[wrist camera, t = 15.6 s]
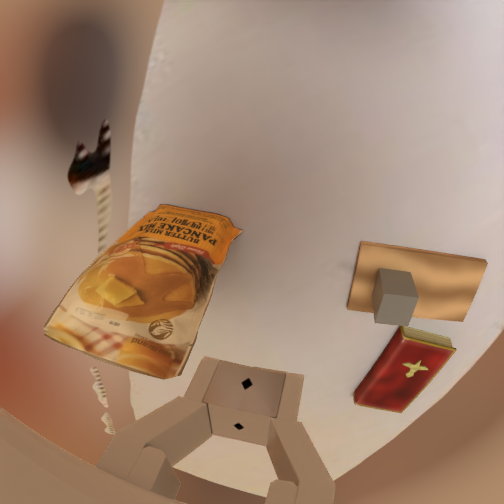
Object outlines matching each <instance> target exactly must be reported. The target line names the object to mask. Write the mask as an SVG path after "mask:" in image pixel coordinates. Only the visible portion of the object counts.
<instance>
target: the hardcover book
mask: <svg viewBox="0 0 504 504" xmlns="http://www.w3.org/2000/svg"><path fill="white" fill-rule="evenodd" d="M455 351H456V348H453V347H452V343H451V340H450V338H448V337H444V336H440V335H437V334H433V333H429V332H425V331H421V330H418V329H414V328H410V327H406V326H400V327H399V328H398V330H397V331H396V333H395V335H394V336H393V338H392V339H391V341H390V342H389V344H388V345H387V347H386V348H385V350H384V351H383V353H382V354H381V356H380V357H379V359H378V360H377V361H376V363H375V364H374V366H373V367H372V369H371V370H370V371H369V373H368V374H367V375H366V377H365V378H364V380H363V381H362V382H361V384H360V385H359V386H358V388H357V389H356V390H355V392H354V404H355V405H359V406H364V407H370V408H375V409H380V410H386V411H392V412H398V413H402V412H403V411H404V410H405V409H406V408H407V407H408V406H409V405H410V403H411V402H412V401H413V400H414V399H415V398H416V397H417V396H418V395H419V394H420V393H421V392H422V391H423V389H424V388H425V387H426V386H427V385H428V384H429V383H430V382H431V380H432V379H433V378H434V377H435V376H436V375H437V373H438V372H439V371H440V370H441V369H442V367H443V366H444V365H445V364H446V363H447V361H448V360H449V359H450V358H451V356H452V355H453V354H454V353H455Z"/></svg>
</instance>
